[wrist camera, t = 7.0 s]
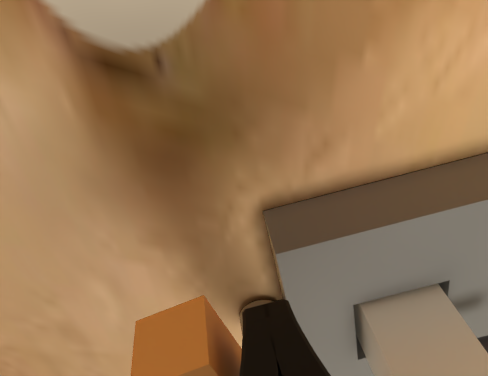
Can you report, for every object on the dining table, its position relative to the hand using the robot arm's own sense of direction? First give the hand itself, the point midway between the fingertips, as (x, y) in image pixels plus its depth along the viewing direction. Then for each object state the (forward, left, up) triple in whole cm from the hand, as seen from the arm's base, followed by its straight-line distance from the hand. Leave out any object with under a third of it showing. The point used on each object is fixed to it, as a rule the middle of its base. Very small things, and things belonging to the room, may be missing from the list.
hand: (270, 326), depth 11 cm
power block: (-10, -11, -8) cm, 16 cm away
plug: (-10, -8, -8) cm, 15 cm away
